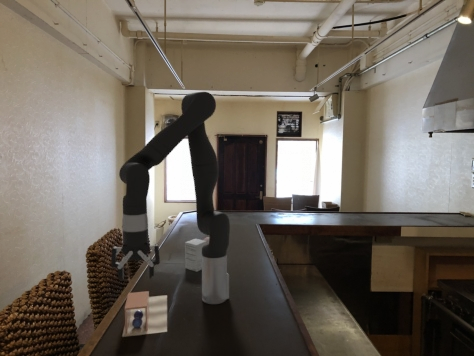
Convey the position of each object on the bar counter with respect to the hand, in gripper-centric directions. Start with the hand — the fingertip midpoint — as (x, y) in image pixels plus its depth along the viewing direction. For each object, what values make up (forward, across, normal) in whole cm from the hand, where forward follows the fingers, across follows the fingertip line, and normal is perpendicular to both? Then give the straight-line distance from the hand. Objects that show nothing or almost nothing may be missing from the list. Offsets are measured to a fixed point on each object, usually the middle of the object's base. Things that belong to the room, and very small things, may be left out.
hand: (136, 278), depth 101 cm
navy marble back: (+13, 0, -2) cm, 14 cm away
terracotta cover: (+15, 0, 0) cm, 15 cm away
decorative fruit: (+15, -32, -63) cm, 72 cm away
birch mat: (+16, -3, -6) cm, 17 cm away
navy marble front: (+13, 0, +2) cm, 14 cm away
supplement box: (+16, -23, -45) cm, 53 cm away
